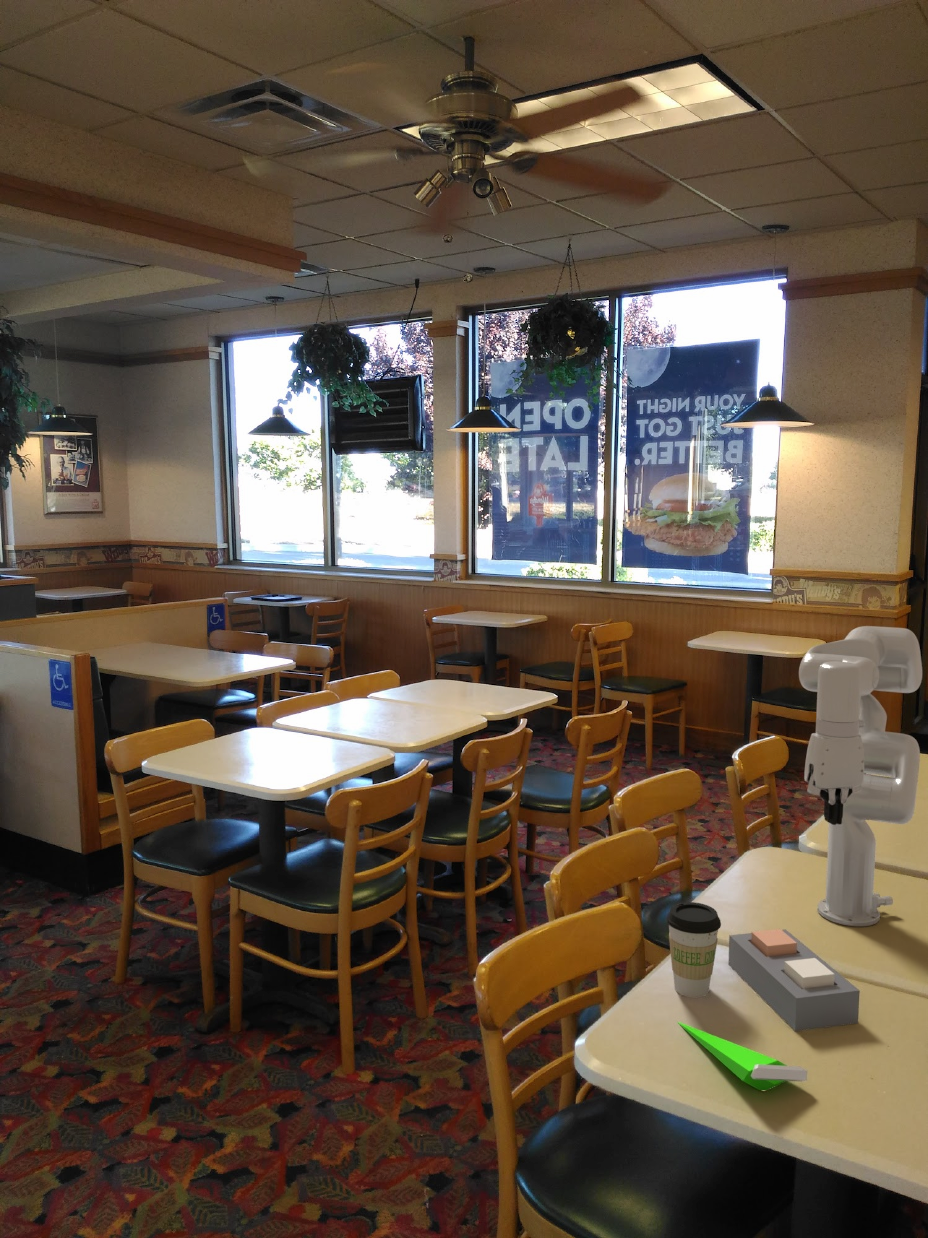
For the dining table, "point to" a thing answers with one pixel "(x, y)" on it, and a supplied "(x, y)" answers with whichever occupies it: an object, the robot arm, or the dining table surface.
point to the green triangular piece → (748, 1062)
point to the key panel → (794, 987)
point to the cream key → (809, 973)
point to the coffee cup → (692, 946)
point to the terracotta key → (773, 942)
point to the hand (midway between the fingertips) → (832, 822)
